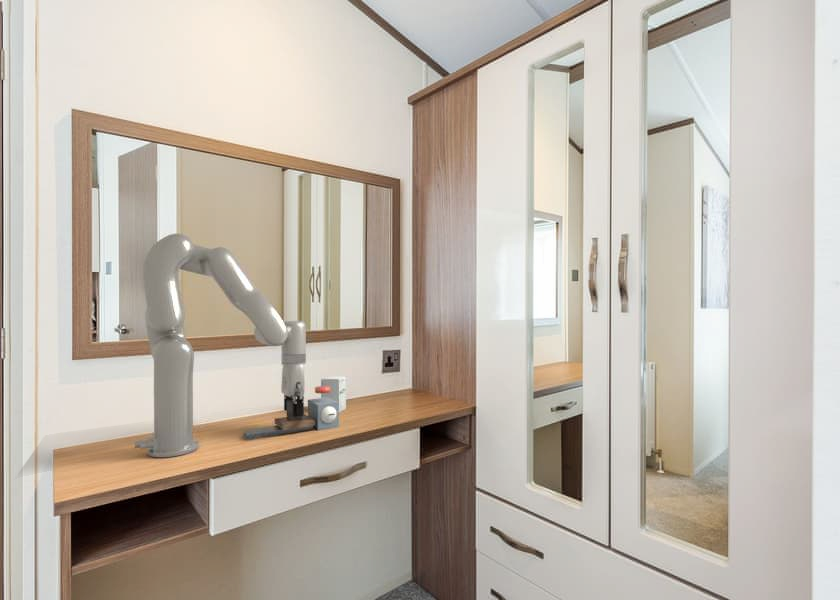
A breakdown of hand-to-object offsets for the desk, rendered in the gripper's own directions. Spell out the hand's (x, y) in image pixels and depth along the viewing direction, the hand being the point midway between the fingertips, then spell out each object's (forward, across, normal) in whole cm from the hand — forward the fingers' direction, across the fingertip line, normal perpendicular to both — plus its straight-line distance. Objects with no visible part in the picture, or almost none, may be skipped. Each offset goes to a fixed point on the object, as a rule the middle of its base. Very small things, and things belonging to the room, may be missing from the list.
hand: (293, 412), depth 143 cm
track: (+6, 0, -5) cm, 7 cm away
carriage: (+4, 0, 0) cm, 4 cm away
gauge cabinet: (+5, 0, +10) cm, 11 cm away
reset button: (-6, 0, +10) cm, 11 cm away
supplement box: (+5, -17, +20) cm, 27 cm away
